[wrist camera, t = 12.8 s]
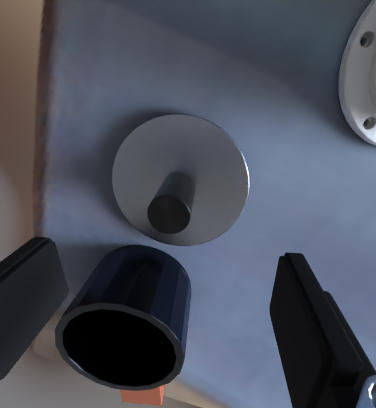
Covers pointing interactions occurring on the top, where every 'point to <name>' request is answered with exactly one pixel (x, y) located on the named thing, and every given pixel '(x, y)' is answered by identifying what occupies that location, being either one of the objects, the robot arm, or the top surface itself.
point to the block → (144, 396)
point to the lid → (180, 179)
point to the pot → (129, 320)
